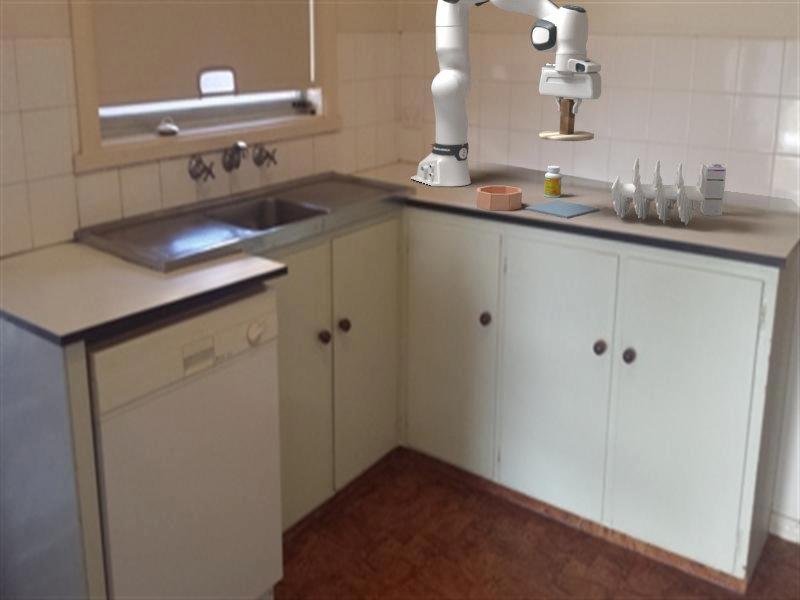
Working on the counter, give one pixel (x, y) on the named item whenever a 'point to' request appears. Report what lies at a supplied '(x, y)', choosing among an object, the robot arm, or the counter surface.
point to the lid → (566, 126)
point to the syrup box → (713, 189)
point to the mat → (562, 209)
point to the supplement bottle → (552, 182)
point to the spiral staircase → (658, 195)
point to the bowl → (499, 198)
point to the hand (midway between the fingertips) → (567, 113)
